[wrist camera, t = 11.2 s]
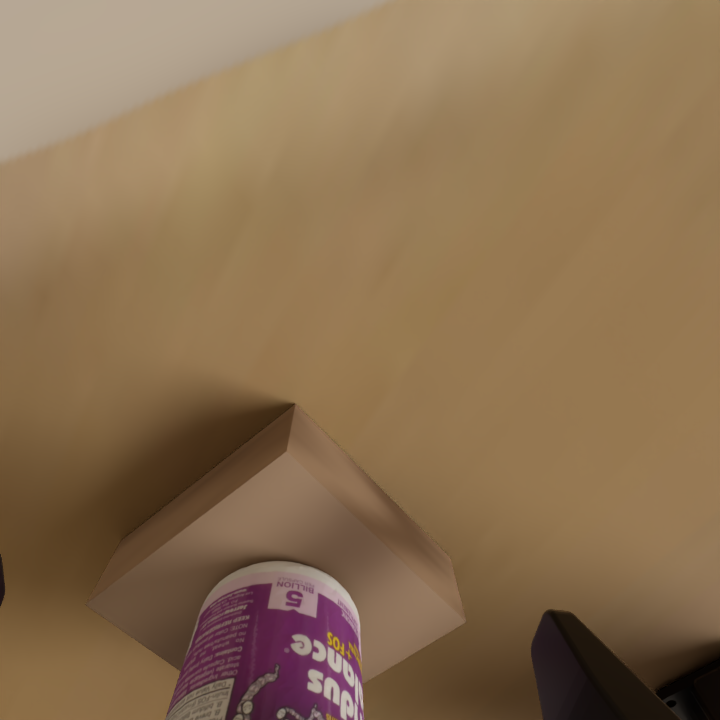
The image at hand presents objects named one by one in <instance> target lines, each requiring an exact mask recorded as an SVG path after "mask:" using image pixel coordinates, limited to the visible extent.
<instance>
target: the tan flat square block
mask: <svg viewBox="0 0 720 720" xmlns="http://www.w3.org/2000/svg"><path fill="white" fill-rule="evenodd" d="M269 561H287V562H294V563H299V564H303V565H306V566H310V567H313V568H316V569H318V570H321V571H323V572H324V573H326V574H328V575H330V576H331V577H333V578H334V579H335V580H336V581H337V582H338V583H339V584H340V585H341V586H342V587H343V588H344V589H345V590H346V591H347V592H348V593H349V595H350V597H351V599H352V601H353V602H354V604H355V606H356V608H357V611H358V615H359V621H360V639H361V658H362V662H361V663H362V684H364V683H365V682H367V681H369V680H370V679H372V678H374V677H376V676H377V675H379V674H381V673H382V672H384V671H386V670H387V669H389V668H391V667H392V666H394V665H396V664H397V663H399V662H401V661H402V660H404V659H406V658H407V657H409V656H411V655H412V654H414V653H416V652H417V651H419V650H421V649H422V648H424V647H426V646H427V645H429V644H431V643H432V642H434V641H436V640H437V639H439V638H441V637H442V636H444V635H446V634H447V633H449V632H451V631H452V630H454V629H456V628H457V627H459V626H461V625H462V624H464V623H466V618H465V614H464V610H463V606H462V602H461V598H460V594H459V590H458V586H457V582H456V578H455V574H454V570H453V566H452V562H451V558H450V557H449V556H448V555H447V554H446V553H445V552H444V551H443V550H442V549H441V548H440V547H439V546H438V545H437V544H436V543H435V542H434V541H433V540H432V539H431V538H430V537H429V536H428V535H427V534H426V533H425V532H424V531H423V530H422V529H421V528H420V527H419V526H418V525H417V524H416V523H415V522H414V521H413V520H412V519H411V518H410V517H409V516H408V515H407V514H406V513H405V512H404V511H403V510H402V509H401V508H400V507H399V506H398V505H397V504H396V503H395V502H394V501H393V500H392V499H391V498H390V497H389V496H388V495H387V494H386V493H385V492H384V491H383V490H382V489H381V488H380V487H379V486H378V485H377V484H376V483H375V482H374V481H373V480H372V479H371V478H370V477H369V476H368V475H367V474H366V473H365V472H364V471H363V470H362V469H361V468H360V467H359V466H358V465H357V464H356V463H355V462H354V461H353V460H352V459H351V458H350V457H349V456H348V455H347V454H346V453H345V452H344V451H343V450H342V449H341V448H340V447H339V446H338V445H337V444H336V443H335V442H333V441H332V440H331V439H330V438H329V437H328V436H327V435H326V434H325V433H324V432H323V431H322V430H321V429H320V428H319V427H318V426H317V425H316V424H315V423H314V422H313V421H312V420H311V419H310V418H309V417H308V416H307V415H306V414H305V413H304V412H303V411H302V410H301V409H300V408H299V407H298V406H297V405H296V404H295V405H293V406H292V407H291V408H290V409H288V410H287V411H286V412H284V413H283V414H282V415H281V416H279V417H278V418H277V419H276V420H274V421H273V422H272V423H270V424H269V425H268V426H267V427H265V428H264V429H263V430H262V431H260V432H259V433H258V434H256V435H255V436H254V437H253V438H251V439H250V440H249V441H248V442H246V443H245V444H244V445H242V446H241V447H240V448H239V449H237V450H236V451H235V452H234V453H232V454H231V455H230V456H228V457H227V458H226V459H225V460H223V461H222V462H221V463H220V464H218V465H217V466H216V467H214V468H213V469H212V470H211V471H209V472H208V473H207V474H206V475H204V476H203V477H202V478H200V479H199V480H198V481H197V482H195V483H194V484H193V485H191V486H190V487H189V488H188V489H186V490H185V491H184V492H183V493H181V494H180V495H179V496H177V497H176V498H175V499H174V500H172V501H171V502H170V503H169V504H167V505H166V506H165V507H163V508H162V509H161V510H160V511H158V512H157V513H156V514H155V515H153V516H152V517H151V518H149V519H148V520H147V521H146V522H144V523H143V524H142V525H141V526H139V527H138V528H137V529H135V530H134V531H133V532H132V533H130V534H129V535H128V536H127V537H125V538H124V539H123V540H121V542H120V543H119V545H118V547H117V549H116V551H115V552H114V554H113V556H112V558H111V560H110V561H109V563H108V565H107V567H106V568H105V570H104V572H103V574H102V576H101V577H100V579H99V581H98V583H97V585H96V586H95V588H94V590H93V592H92V593H91V595H90V597H89V599H88V601H87V602H86V604H85V605H86V606H88V607H89V608H91V609H92V610H93V611H95V612H96V613H98V614H99V615H101V616H102V617H103V618H105V619H106V620H108V621H109V622H111V623H112V624H113V625H115V626H116V627H118V628H119V629H121V630H122V631H124V632H125V633H126V634H128V635H129V636H131V637H132V638H134V639H135V640H136V641H138V642H139V643H141V644H142V645H144V646H145V647H146V648H148V649H149V650H151V651H152V652H154V653H155V654H156V655H158V656H159V657H161V658H162V659H164V660H165V661H166V662H168V663H169V664H171V665H172V666H174V667H175V668H176V669H178V670H179V671H181V669H182V666H183V663H184V660H185V656H186V653H187V650H188V647H189V644H190V641H191V638H192V635H193V631H194V629H195V626H196V622H197V619H198V616H199V613H200V610H201V608H202V606H203V604H204V601H205V600H206V598H207V596H208V595H209V593H210V592H211V591H212V590H213V588H214V587H215V586H216V585H217V584H218V583H219V582H220V581H221V580H223V579H224V578H225V577H226V576H228V575H230V574H232V573H233V572H235V571H237V570H239V569H242V568H245V567H248V566H250V565H253V564H257V563H261V562H269Z"/></svg>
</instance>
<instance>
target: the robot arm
mask: <svg viewBox="0 0 720 720" xmlns="http://www.w3.org/2000/svg"><path fill="white" fill-rule="evenodd" d="M4 595H5V583H4V574H3V565H2V557H1V554H0V606H1V604H2V601H3V598H4ZM531 657H532V662H533V668H534V673H535V678H536V683H537V689H538V694H539V699H540V704H541V710H542V715H543V720H720V660H718V661H716V662H714V663H712V664H710V665H708V666H706V667H704V668H702V669H700V670H698V671H696V672H694V673H692V674H691V675H689V676H687V677H685V678H683V679H681V680H679V681H677V682H675V683H673V684H671V685H669V686H667V687H665V688H663V689H661V690H660V691H658V692H657V693H656V694H655V693H654V692H653V691H652V690H651V689H650V688H649V687H648V686H647V685H645V684H644V683H643V682H642V681H641V680H640V679H639V678H638V677H637V676H636V675H635V674H634V673H633V672H632V671H631V670H630V669H629V668H628V667H627V666H626V665H625V664H624V663H623V662H622V661H621V660H620V659H619V658H618V657H617V656H616V655H615V654H614V653H613V652H612V651H611V650H610V649H609V648H608V647H607V646H606V645H605V644H604V643H603V642H602V641H600V640H599V639H598V638H597V637H596V636H595V635H594V634H593V633H592V632H591V631H590V630H589V629H588V628H587V627H586V626H585V625H584V624H583V623H582V622H581V621H580V620H579V619H578V618H577V617H576V616H575V615H574V614H572V613H571V612H568V611H562V610H552V609H549V610H547V611H546V612H544V614H543V616H542V619H541V621H540V624H539V626H538V629H537V631H536V633H535V636H534V638H533V641H532V646H531Z"/></svg>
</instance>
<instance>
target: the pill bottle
mask: <svg viewBox="0 0 720 720" xmlns="http://www.w3.org/2000/svg"><path fill="white" fill-rule="evenodd" d="M361 662H362V658H361V639H360V621H359V615H358V611H357V608H356V606H355V604H354V602H353V601H352V599H351V597H350V595H349V593H348V592H347V591H346V590H345V589H344V588H343V587H342V586H341V585H340V584H339V583H338V582H337V581H336V580H335V579H334V578H333V577H331V576H330V575H328V574H326V573H324V572H323V571H321V570H318V569H316V568H313V567H310V566H306V565H303V564H299V563H294V562H287V561H269V562H261V563H257V564H253V565H250V566H248V567H245V568H242V569H239V570H237V571H235V572H233V573H232V574H230V575H228V576H226V577H225V578H224V579H223V580H221V581H220V582H219V583H218V584H217V585H216V586H215V587H214V588H213V590H212V591H211V592H210V593H209V595H208V596H207V598H206V600H205V601H204V604H203V606H202V608H201V610H200V613H199V616H198V619H197V622H196V626H195V629H194V631H193V635H192V638H191V641H190V644H189V647H188V650H187V653H186V656H185V660H184V663H183V666H182V669H181V673H180V676H179V679H178V682H177V685H176V688H175V691H174V694H173V697H172V700H171V703H170V706H169V709H168V713H167V716H166V719H165V720H364V713H363V687H362V663H361Z"/></svg>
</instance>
